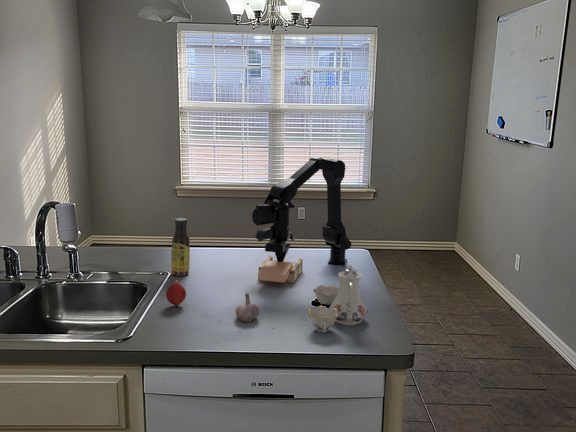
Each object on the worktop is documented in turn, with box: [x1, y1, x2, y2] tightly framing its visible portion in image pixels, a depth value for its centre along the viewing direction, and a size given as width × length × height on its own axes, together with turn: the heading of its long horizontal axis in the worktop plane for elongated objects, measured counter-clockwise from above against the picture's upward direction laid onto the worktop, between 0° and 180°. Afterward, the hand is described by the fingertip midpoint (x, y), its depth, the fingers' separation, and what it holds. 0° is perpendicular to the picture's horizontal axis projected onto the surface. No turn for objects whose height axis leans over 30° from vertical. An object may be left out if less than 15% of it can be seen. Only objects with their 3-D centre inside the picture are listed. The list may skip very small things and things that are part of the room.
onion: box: [165, 280, 187, 307], centre depth 166 cm, size 6×6×8 cm
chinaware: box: [307, 264, 369, 333], centre depth 159 cm, size 28×17×17 cm, turn 177°
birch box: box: [258, 255, 304, 284], centre depth 196 cm, size 14×12×4 cm
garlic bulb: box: [235, 291, 260, 323], centre depth 158 cm, size 8×7×8 cm
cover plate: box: [257, 260, 293, 283], centre depth 188 cm, size 12×9×2 cm
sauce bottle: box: [170, 217, 191, 277], centre depth 193 cm, size 7×6×20 cm
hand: (280, 265), depth 194 cm, fingers closed
